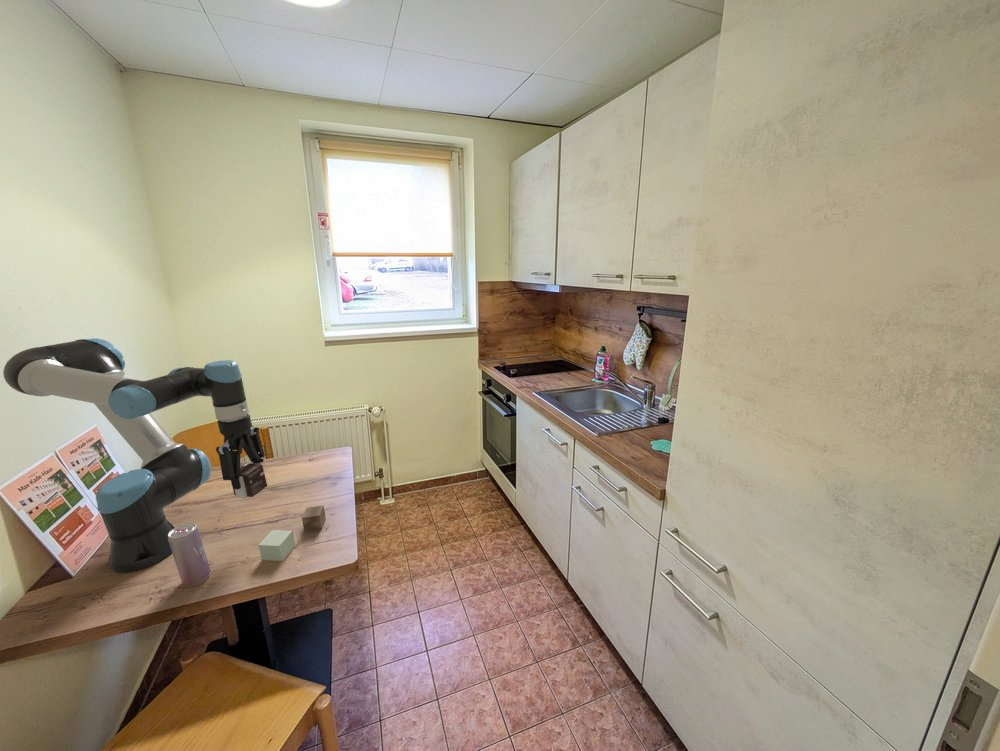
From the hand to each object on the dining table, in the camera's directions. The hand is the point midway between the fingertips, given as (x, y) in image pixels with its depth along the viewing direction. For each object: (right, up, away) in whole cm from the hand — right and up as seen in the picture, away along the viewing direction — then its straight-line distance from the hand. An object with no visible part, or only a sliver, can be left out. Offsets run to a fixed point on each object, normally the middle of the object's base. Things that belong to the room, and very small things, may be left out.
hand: (250, 489), depth 113 cm
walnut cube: (+16, -13, +7) cm, 22 cm away
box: (0, -1, 0) cm, 1 cm away
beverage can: (-6, -20, -13) cm, 24 cm away
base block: (+11, -16, -4) cm, 20 cm away
